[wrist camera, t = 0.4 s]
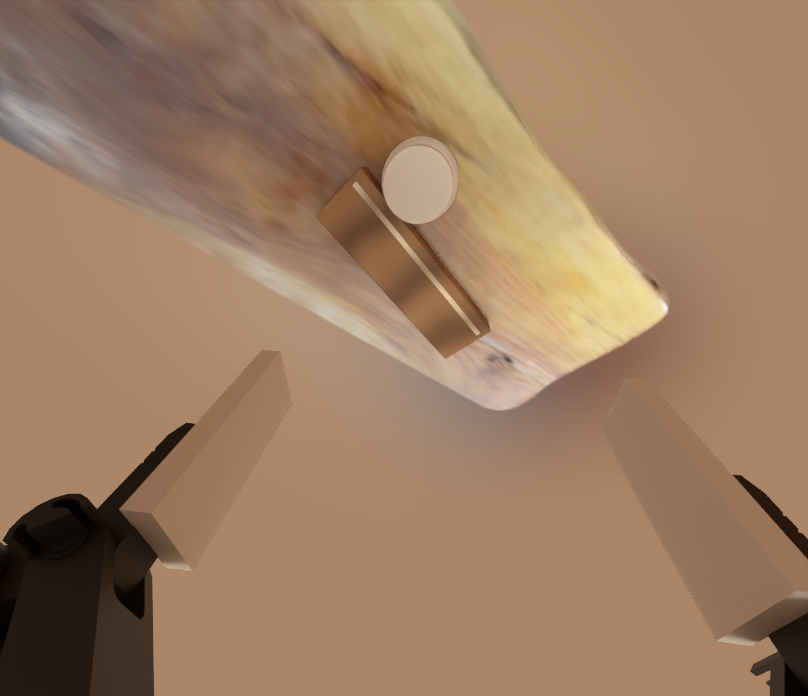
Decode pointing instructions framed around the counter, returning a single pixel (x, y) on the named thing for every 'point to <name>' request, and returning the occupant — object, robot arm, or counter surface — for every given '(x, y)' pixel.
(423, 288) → the plank
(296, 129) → the counter surface
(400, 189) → the pill bottle
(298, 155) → the counter surface
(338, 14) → the counter surface
